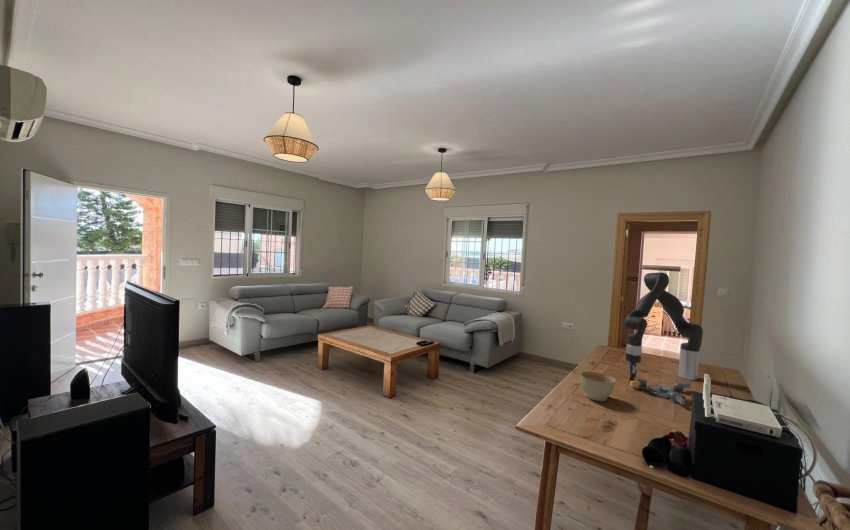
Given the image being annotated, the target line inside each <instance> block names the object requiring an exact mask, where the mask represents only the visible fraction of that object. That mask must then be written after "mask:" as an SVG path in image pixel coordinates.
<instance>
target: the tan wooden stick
mask: <svg viewBox="0 0 850 530" xmlns="http://www.w3.org/2000/svg"><path fill="white" fill-rule="evenodd" d="M629 386H631V387H635V386H638V387H639V386H640V387H648V380H647V379H645V378H637V380H634V381H630V383H629Z"/></svg>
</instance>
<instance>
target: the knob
mask: <svg viewBox="0 0 850 530" xmlns="http://www.w3.org/2000/svg"><path fill="white" fill-rule="evenodd" d="M680 395H681V394H680V393H678V392H674V391H670V397H669V398H670V399H671V400H674V401H678V402H679V404H680V405H683V406H685V405H686V399H684V398H683V397H682V398H681V397H680Z"/></svg>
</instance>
